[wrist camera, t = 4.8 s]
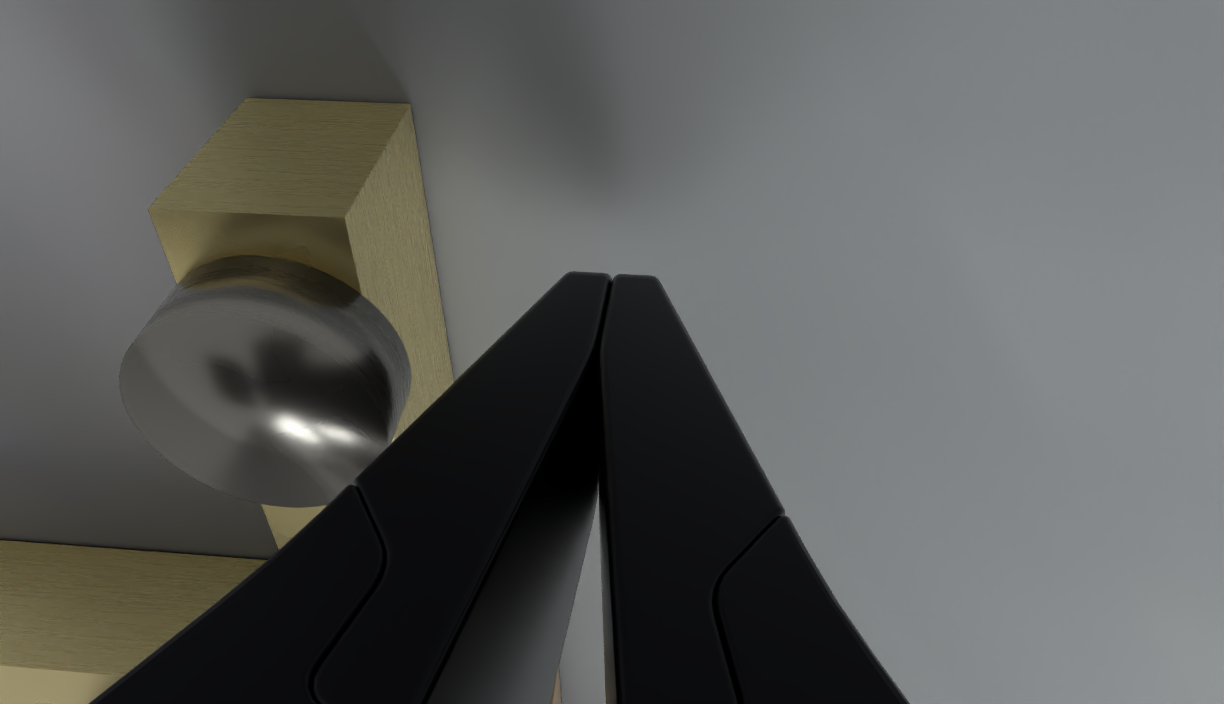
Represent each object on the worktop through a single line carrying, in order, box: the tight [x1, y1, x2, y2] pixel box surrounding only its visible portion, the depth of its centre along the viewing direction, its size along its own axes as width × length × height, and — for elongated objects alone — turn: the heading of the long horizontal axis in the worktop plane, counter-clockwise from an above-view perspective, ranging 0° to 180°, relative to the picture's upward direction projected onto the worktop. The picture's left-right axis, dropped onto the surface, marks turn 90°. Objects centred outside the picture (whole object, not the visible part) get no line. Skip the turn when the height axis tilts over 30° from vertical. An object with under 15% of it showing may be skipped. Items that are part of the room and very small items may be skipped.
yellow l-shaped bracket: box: [0, 98, 454, 704], centre depth 11 cm, size 9×9×3 cm
